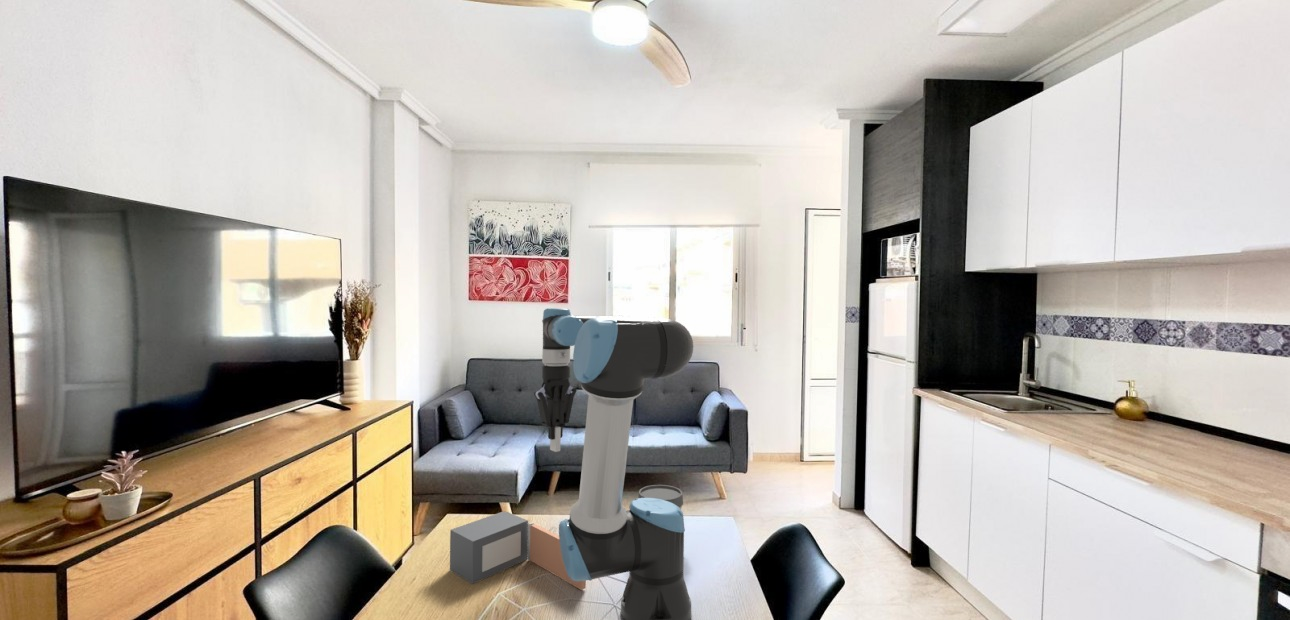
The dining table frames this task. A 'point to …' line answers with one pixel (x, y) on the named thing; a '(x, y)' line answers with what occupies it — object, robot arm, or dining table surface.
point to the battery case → (488, 546)
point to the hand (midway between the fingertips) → (555, 450)
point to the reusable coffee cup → (663, 493)
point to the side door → (548, 553)
